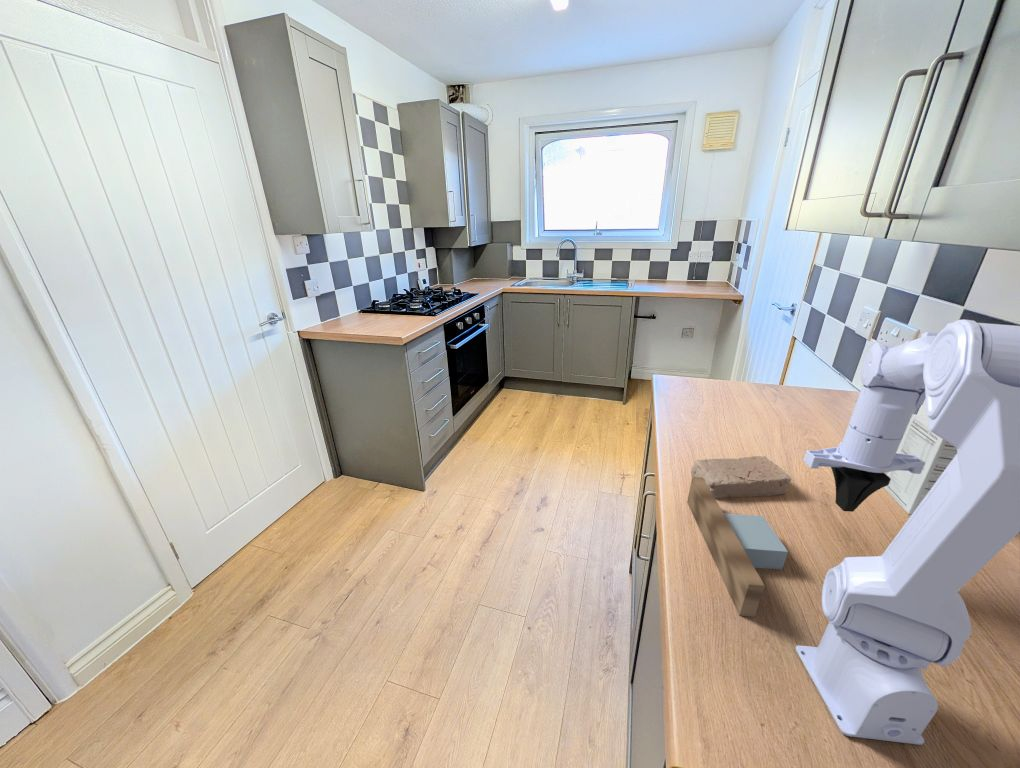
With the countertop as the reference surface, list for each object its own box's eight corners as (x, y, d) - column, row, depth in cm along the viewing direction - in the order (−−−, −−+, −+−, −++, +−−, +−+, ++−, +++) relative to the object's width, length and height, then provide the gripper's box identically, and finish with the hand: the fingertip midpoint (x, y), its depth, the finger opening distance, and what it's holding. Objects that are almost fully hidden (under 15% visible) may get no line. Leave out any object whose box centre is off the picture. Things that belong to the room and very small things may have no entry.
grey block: (781, 570, 62) (788, 551, 60) (728, 566, 63) (733, 547, 61) (757, 533, 69) (763, 516, 68) (710, 530, 70) (714, 512, 68)
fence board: (754, 616, 54) (764, 585, 52) (739, 615, 55) (748, 584, 52) (697, 502, 76) (703, 477, 74) (687, 502, 77) (692, 477, 74)
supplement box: (971, 525, 70) (1017, 445, 63) (907, 515, 72) (945, 437, 66) (935, 492, 78) (973, 418, 72) (879, 484, 81) (911, 412, 74)
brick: (708, 500, 77) (712, 481, 76) (688, 475, 85) (691, 457, 83) (788, 497, 78) (794, 478, 76) (761, 472, 86) (766, 454, 84)
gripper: (908, 418, 57) (876, 493, 62) (802, 414, 59) (780, 487, 64) (953, 443, 51) (913, 524, 56) (833, 438, 52) (805, 517, 58)
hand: (844, 507), depth 60 cm, fingers closed
